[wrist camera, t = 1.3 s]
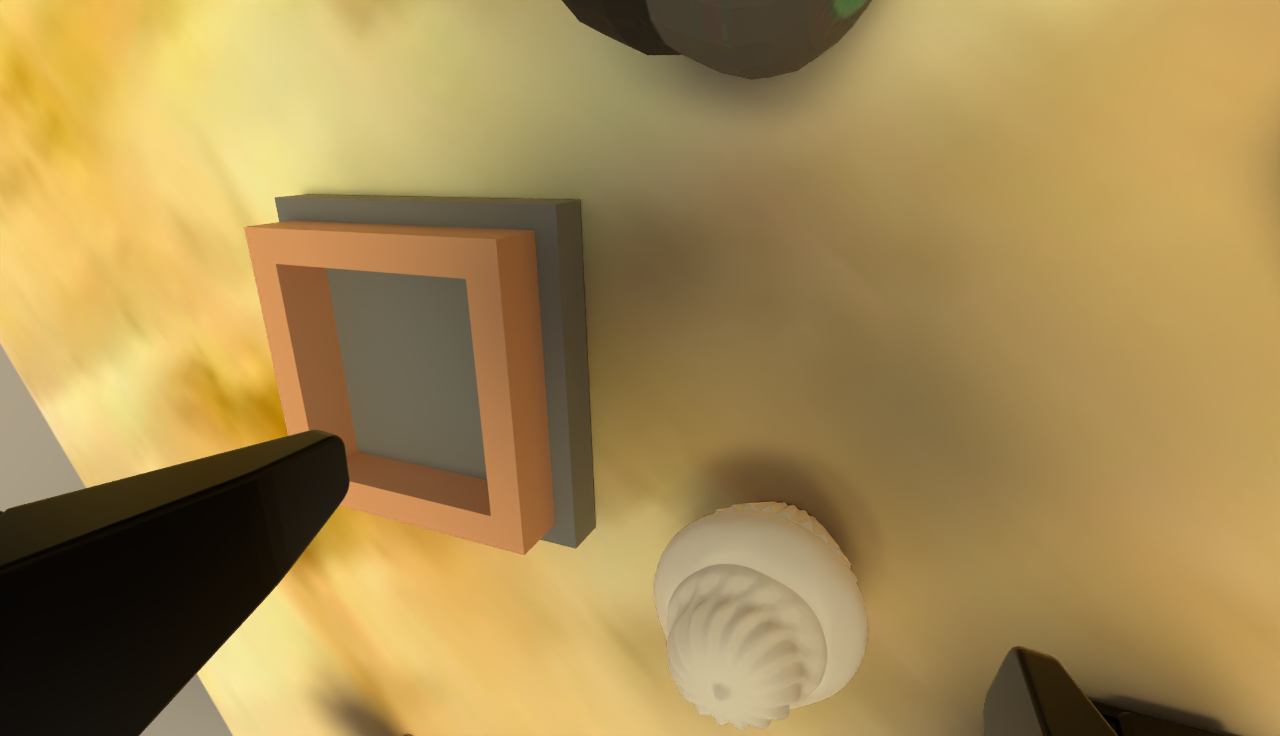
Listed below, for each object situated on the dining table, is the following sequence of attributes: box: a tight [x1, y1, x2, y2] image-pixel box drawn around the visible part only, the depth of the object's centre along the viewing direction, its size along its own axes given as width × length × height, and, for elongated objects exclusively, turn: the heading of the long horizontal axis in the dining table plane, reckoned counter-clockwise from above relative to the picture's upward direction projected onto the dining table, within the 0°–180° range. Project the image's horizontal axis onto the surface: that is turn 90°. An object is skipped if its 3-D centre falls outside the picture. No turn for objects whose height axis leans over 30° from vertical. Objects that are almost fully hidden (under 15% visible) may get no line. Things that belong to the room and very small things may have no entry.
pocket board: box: [244, 194, 595, 555], centre depth 24 cm, size 12×12×4 cm
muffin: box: [654, 501, 868, 730], centre depth 19 cm, size 6×6×7 cm
